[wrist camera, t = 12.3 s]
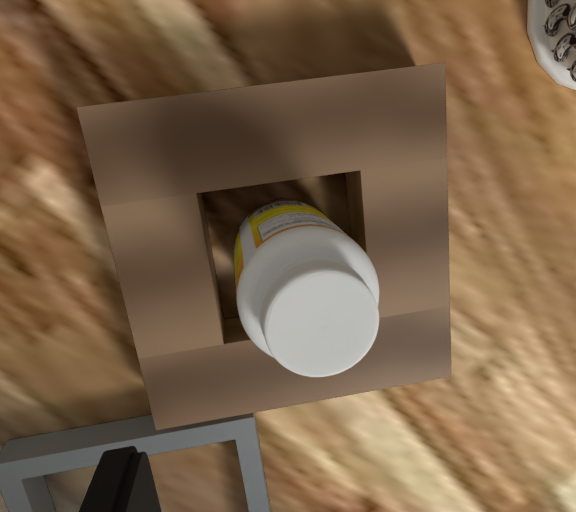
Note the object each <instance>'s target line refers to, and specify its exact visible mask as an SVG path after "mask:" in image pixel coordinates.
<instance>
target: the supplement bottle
mask: <svg viewBox="0 0 576 512" xmlns="http://www.w3.org/2000/svg"><path fill="white" fill-rule="evenodd" d="M234 266H235V282H236V298H237V307H238V313H239V317H240V320H241V323H242V325H243V327H244V330H245V331H246V333H247V335H248V336H249V337H250V339H251V340H252V341H253V342H254V343H255V344H256V345H257V346H258V347H259V348H260V349H261V350H262V351H264V352H265V353H267V354H268V355H270V356H271V357H274V358H275V359H276V360H277V361H278V362H279V363H280V364H281V365H282V366H284V367H285V368H287V369H288V370H290V371H292V372H294V373H297V374H299V375H303V376H308V377H326V376H331V375H335V374H338V373H341V372H343V371H345V370H347V369H349V368H351V367H352V366H354V365H355V364H356V363H357V362H359V361H360V360H361V359H362V358H363V357H364V356H365V355H366V354H367V352H368V351H369V349H370V348H371V346H372V344H373V343H374V340H375V338H376V335H377V331H378V327H379V312H378V303H379V283H378V278H377V274H376V271H375V268H374V266H373V264H372V262H371V260H370V259H369V257H368V256H367V254H366V253H365V252H364V250H363V249H362V248H361V247H360V246H359V245H358V244H357V243H356V242H355V241H354V240H353V239H351V238H350V237H349V236H348V235H347V234H346V233H344V232H343V231H342V230H341V229H340V228H339V227H338V226H337V225H335V224H334V223H333V222H332V221H331V220H330V219H328V218H327V217H326V216H325V215H324V214H323V213H322V212H320V211H319V210H318V209H317V208H315V207H313V206H311V205H309V204H307V203H305V202H302V201H298V200H293V199H280V200H275V201H271V202H268V203H265V204H263V205H261V206H259V207H258V208H256V209H255V210H254V211H252V212H251V213H250V214H249V215H248V216H247V217H246V218H245V220H244V221H243V222H242V224H241V226H240V227H239V229H238V232H237V234H236V237H235V242H234Z"/></svg>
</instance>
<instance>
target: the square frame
mask: <svg viewBox="0 0 576 512" xmlns="http://www.w3.org/2000/svg"><path fill="white" fill-rule="evenodd" d="M234 439H235V440H236V445H237V450H238V456H239V461H240V466H241V472H242V477H243V483H244V488H245V493H246V499H247V504H248V509H249V512H271V507H270V501H269V495H268V489H267V483H266V477H265V472H264V466H263V460H262V454H261V448H260V442H259V436H258V430H257V424H256V418H255V412H254V413H249V414H243V415H238V416H232V417H227V418H221V419H216V420H210V421H205V422H199V423H194V424H188V425H183V426H177V427H172V428H166V429H161V430H156V428H155V424H154V420H153V416H152V415H147V416H141V417H136V418H130V419H125V420H119V421H113V422H108V423H102V424H97V425H91V426H86V427H80V428H74V429H69V430H63V431H58V432H52V433H47V434H41V435H35V436H30V437H24V438H19V439H13V440H8V441H7V443H6V444H5V446H4V447H3V449H2V450H1V452H0V491H1V494H2V496H3V499H4V501H5V504H6V507H7V509H8V512H56V511H55V508H54V505H53V502H52V499H51V496H50V493H49V490H48V487H47V484H46V481H45V479H44V476H43V475H47V474H53V473H58V472H63V471H69V470H74V469H79V468H85V467H90V466H95V465H98V463H99V461H100V458H101V456H102V454H103V452H105V451H107V450H112V449H118V448H123V447H129V446H135V447H136V449H137V451H138V452H146V453H147V456H149V455H154V454H160V453H165V452H170V451H176V450H181V449H186V448H192V447H197V446H202V445H208V444H213V443H218V442H224V441H229V440H234Z"/></svg>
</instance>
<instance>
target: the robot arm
mask: <svg viewBox="0 0 576 512" xmlns="http://www.w3.org/2000/svg"><path fill="white" fill-rule="evenodd" d="M79 512H161V508H160V504H159V500H158V496H157V491H156V487H155V483H154V479H153V475H152V471H151V467H150V463H149V459H148V456H147V453H146V452H138V451H137V449H136V447H135V446H129V447H123V448H118V449H112V450H107V451H105V452H103V454H102V456H101V458H100V461H99V463H98V466H97V468H96V471H95V473H94V476H93V478H92V481H91V483H90V486H89V488H88V490H87V493H86V495H85V498H84V500H83V503H82V505H81V508H80V510H79Z"/></svg>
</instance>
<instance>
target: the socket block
mask: <svg viewBox="0 0 576 512" xmlns="http://www.w3.org/2000/svg"><path fill="white" fill-rule="evenodd" d="M76 108H77V112H78V116H79V120H80V124H81V128H82V132H83V136H84V140H85V144H86V148H87V152H88V157H89V161H90V165H91V169H92V173H93V177H94V181H95V185H96V189H97V193H98V197H99V201H100V205H101V209H102V213H103V217H104V221H105V225H106V230H107V234H108V238H109V242H110V246H111V250H112V254H113V258H114V262H115V266H116V270H117V274H118V278H119V282H120V286H121V290H122V294H123V299H124V303H125V307H126V311H127V315H128V319H129V323H130V327H131V331H132V335H133V339H134V343H135V347H136V351H137V355H138V359H139V363H140V368H141V372H142V376H143V380H144V384H145V388H146V392H147V396H148V400H149V404H150V408H151V412H152V416H153V420H154V424H155V428H156V430H161V429H166V428H172V427H177V426H183V425H188V424H194V423H199V422H205V421H210V420H216V419H221V418H227V417H232V416H238V415H243V414H249V413H254V412H259V411H265V410H270V409H276V408H281V407H287V406H292V405H298V404H303V403H309V402H314V401H320V400H325V399H331V398H336V397H342V396H347V395H353V394H358V393H363V392H369V391H374V390H380V389H385V388H391V387H396V386H402V385H407V384H413V383H418V382H424V381H429V380H435V379H440V378H446V377H451V333H450V282H449V230H448V179H447V128H446V76H445V63H437V64H428V65H420V66H412V67H404V68H396V69H387V70H379V71H371V72H363V73H354V74H346V75H338V76H330V77H322V78H313V79H305V80H297V81H289V82H280V83H272V84H264V85H256V86H248V87H239V88H231V89H223V90H215V91H206V92H198V93H190V94H182V95H174V96H165V97H157V98H149V99H141V100H133V101H124V102H116V103H108V104H100V105H91V106H83V107H76ZM344 172H345V174H346V185H347V197H348V209H349V221H350V233H351V239H353V240H354V241H355V242H356V243H357V244H358V245H359V246H360V247H361V248H362V249H363V250H364V252H365V253H366V254H367V256H368V257H369V259H370V260H371V262H372V264H373V266H374V268H375V271H376V274H377V278H378V283H379V303H378V312H379V327H378V331H377V335H376V338H375V340H374V343H373V344H372V346H371V348H370V349H369V351H368V352H367V354H366V355H365V356H364V357H363V358H362V359H361V360H360V361H359V362H357V363H356V364H355V365H354V366H352V367H351V368H349V369H347V370H345V371H343V372H341V373H338V374H335V375H331V376H326V377H308V376H303V375H299V374H297V373H294V372H292V371H290V370H288V369H287V368H285V367H284V366H282V365H281V364H280V363H279V362H278V361H277V360H276V359H275V358H274V357H271V356H270V355H268V354H267V353H265V352H264V351H262V350H261V349H260V348H259V347H258V346H257V345H256V344H255V343H254V342H253V341H252V340H251V339H250V337H249V336H248V335H247V333H246V331H245V330H244V327H243V325H242V323H241V320H240V317H237V318H231V319H225V320H224V315H223V310H222V304H221V298H220V293H219V287H218V282H217V276H216V270H215V265H214V259H213V254H212V248H211V242H210V237H209V231H208V226H207V220H206V215H205V209H204V203H203V198H202V192H209V191H216V190H223V189H230V188H238V187H245V186H252V185H259V184H266V183H273V182H280V181H287V180H295V179H302V178H309V177H316V176H323V175H330V174H337V173H344Z"/></svg>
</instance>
